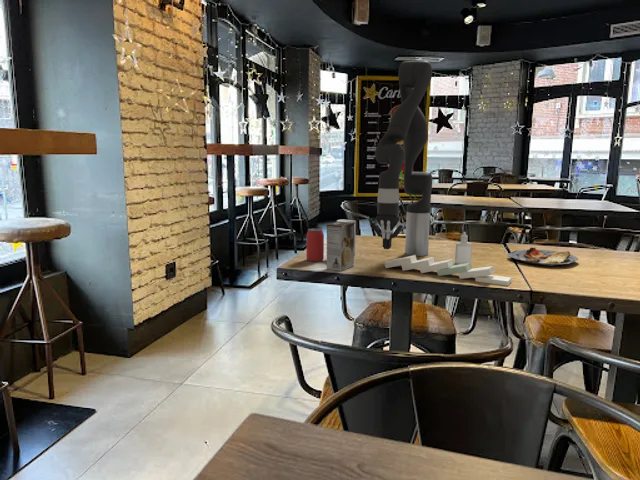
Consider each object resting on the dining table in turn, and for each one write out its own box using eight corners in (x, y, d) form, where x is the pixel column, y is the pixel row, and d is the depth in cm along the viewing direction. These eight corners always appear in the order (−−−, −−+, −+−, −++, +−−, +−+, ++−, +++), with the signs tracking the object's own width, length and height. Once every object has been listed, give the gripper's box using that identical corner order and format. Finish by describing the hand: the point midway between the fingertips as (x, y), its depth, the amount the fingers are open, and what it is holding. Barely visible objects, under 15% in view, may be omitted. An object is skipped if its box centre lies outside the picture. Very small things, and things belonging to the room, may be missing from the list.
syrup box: (335, 256, 195) (335, 220, 192) (344, 254, 199) (344, 218, 197) (346, 258, 191) (347, 221, 189) (355, 256, 196) (356, 220, 193)
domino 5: (480, 273, 163) (511, 277, 158) (479, 279, 164) (511, 283, 158) (475, 277, 159) (507, 281, 154) (475, 283, 159) (507, 287, 154)
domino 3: (425, 264, 173) (452, 258, 168) (426, 270, 173) (453, 264, 168) (419, 267, 169) (447, 261, 163) (421, 273, 169) (448, 267, 163)
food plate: (525, 251, 207) (526, 243, 206) (585, 260, 191) (586, 251, 190) (498, 262, 189) (499, 253, 189) (561, 273, 173) (562, 263, 173)
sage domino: (442, 267, 170) (470, 262, 164) (443, 272, 170) (471, 268, 164) (436, 270, 165) (465, 265, 160) (438, 276, 165) (467, 271, 160)
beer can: (321, 262, 184) (322, 231, 182) (304, 261, 185) (304, 230, 183) (325, 258, 190) (325, 228, 188) (308, 258, 192) (308, 227, 189)
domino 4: (463, 269, 166) (493, 265, 160) (465, 275, 166) (494, 271, 160) (458, 272, 161) (488, 269, 156) (459, 278, 162) (490, 275, 156)
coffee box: (338, 264, 182) (339, 221, 179) (354, 266, 178) (354, 222, 175) (325, 269, 174) (326, 224, 171) (341, 271, 171) (342, 225, 168)
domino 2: (407, 262, 177) (433, 257, 171) (408, 267, 177) (434, 262, 171) (401, 265, 172) (428, 259, 167) (402, 270, 172) (429, 265, 167)
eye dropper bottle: (468, 265, 180) (470, 233, 178) (453, 263, 183) (455, 232, 181) (471, 263, 184) (473, 232, 182) (457, 261, 187) (458, 230, 185)
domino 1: (390, 260, 180) (415, 254, 175) (391, 265, 180) (416, 260, 175) (384, 262, 176) (409, 257, 170) (385, 268, 176) (411, 263, 170)
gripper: (409, 201, 174) (408, 249, 177) (376, 199, 181) (374, 245, 184) (401, 203, 168) (399, 252, 171) (366, 200, 175) (365, 248, 178)
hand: (386, 248), depth 177 cm, fingers closed
